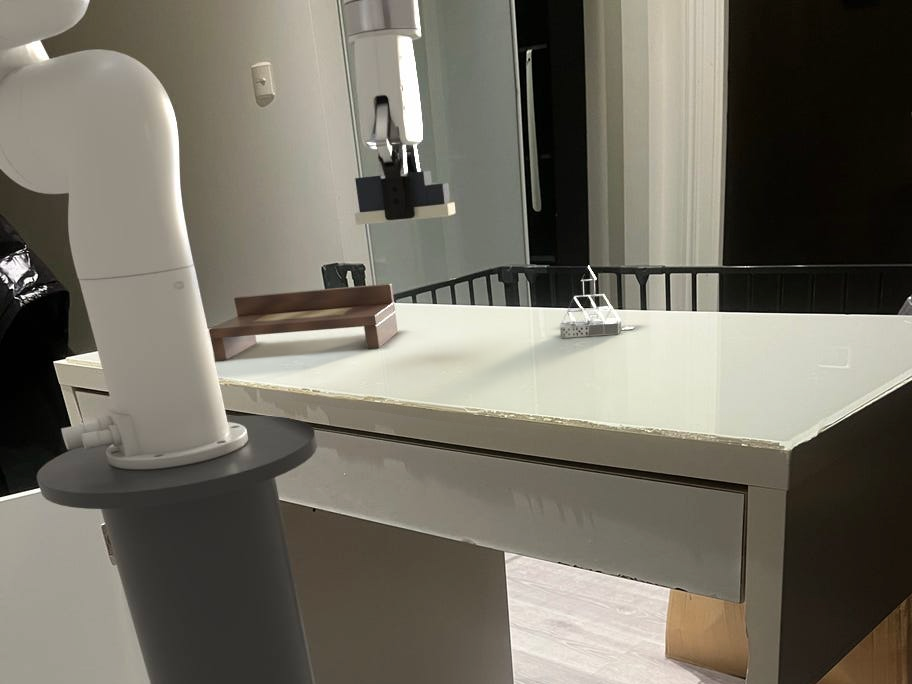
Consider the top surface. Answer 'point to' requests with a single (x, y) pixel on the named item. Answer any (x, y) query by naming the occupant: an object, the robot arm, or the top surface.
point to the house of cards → (591, 326)
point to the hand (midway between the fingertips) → (405, 215)
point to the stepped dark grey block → (425, 197)
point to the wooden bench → (307, 316)
